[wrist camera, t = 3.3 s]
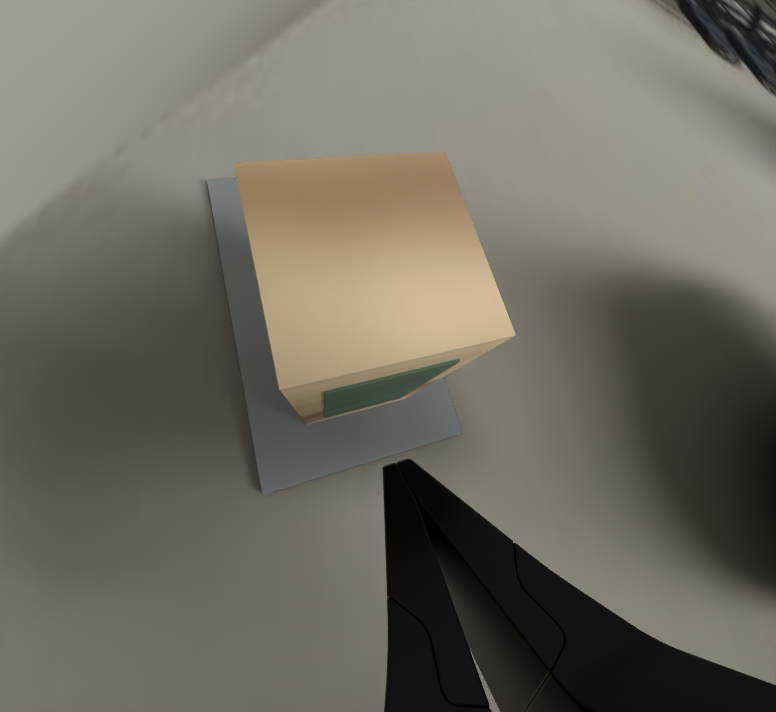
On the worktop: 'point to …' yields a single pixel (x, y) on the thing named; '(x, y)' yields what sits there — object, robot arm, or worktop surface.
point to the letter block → (367, 277)
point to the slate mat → (271, 408)
